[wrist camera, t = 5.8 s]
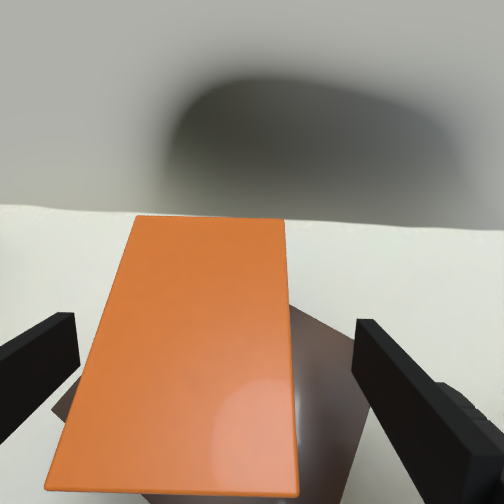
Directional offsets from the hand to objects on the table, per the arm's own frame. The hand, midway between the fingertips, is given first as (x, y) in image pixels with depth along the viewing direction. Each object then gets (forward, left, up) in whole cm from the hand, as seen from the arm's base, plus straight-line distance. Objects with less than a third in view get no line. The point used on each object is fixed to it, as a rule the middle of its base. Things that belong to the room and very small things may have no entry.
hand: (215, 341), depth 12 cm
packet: (-1, +1, -7) cm, 7 cm away
